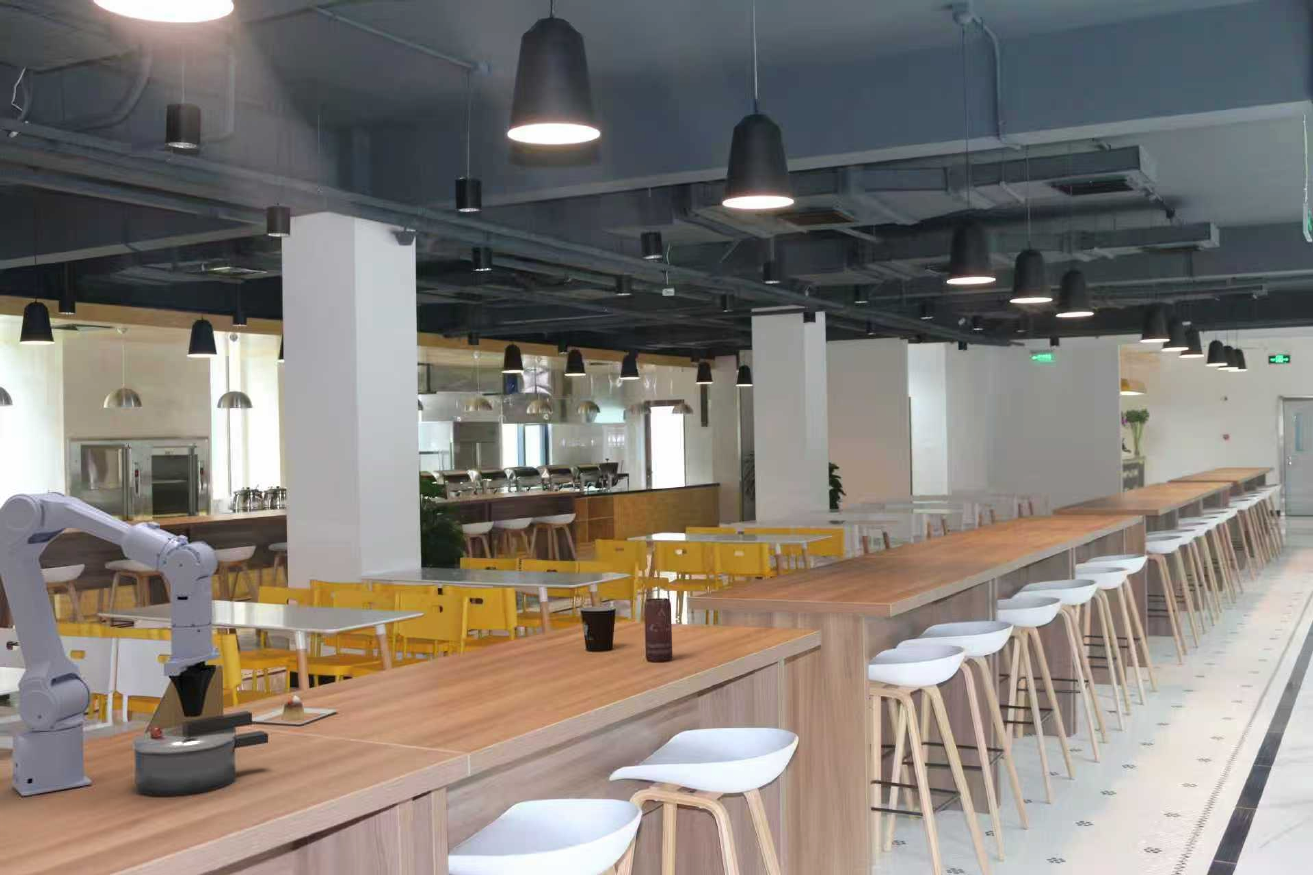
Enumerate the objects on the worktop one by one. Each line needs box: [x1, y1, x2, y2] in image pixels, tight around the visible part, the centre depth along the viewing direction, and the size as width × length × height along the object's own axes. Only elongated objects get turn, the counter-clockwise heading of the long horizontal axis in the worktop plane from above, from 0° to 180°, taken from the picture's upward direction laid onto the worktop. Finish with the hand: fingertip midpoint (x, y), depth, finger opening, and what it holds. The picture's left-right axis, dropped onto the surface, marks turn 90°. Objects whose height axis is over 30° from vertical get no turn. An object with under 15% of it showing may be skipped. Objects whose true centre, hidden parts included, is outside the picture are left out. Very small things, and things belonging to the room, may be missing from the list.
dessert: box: [252, 695, 340, 727], centre depth 226 cm, size 12×12×5 cm
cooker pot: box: [134, 730, 269, 798], centre depth 182 cm, size 19×14×6 cm
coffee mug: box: [580, 606, 617, 653], centre depth 296 cm, size 12×9×10 cm
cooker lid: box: [132, 710, 253, 754], centre depth 182 cm, size 17×14×3 cm
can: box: [643, 597, 673, 663], centre depth 277 cm, size 6×6×14 cm
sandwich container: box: [133, 664, 224, 754], centre depth 200 cm, size 9×15×15 cm, turn 48°
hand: (193, 715), depth 180 cm, fingers closed
